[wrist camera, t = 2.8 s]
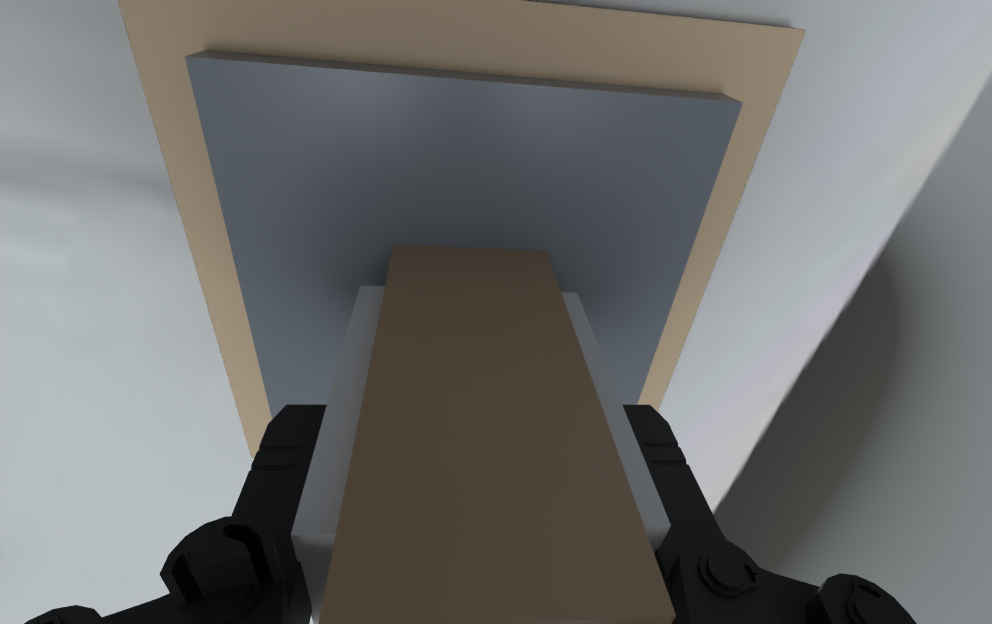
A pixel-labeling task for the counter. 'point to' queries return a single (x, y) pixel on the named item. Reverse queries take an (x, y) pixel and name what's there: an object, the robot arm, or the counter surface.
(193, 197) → the mat
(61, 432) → the counter surface
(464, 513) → the lid
